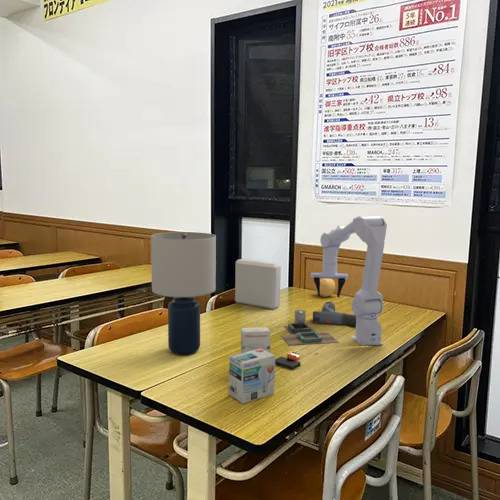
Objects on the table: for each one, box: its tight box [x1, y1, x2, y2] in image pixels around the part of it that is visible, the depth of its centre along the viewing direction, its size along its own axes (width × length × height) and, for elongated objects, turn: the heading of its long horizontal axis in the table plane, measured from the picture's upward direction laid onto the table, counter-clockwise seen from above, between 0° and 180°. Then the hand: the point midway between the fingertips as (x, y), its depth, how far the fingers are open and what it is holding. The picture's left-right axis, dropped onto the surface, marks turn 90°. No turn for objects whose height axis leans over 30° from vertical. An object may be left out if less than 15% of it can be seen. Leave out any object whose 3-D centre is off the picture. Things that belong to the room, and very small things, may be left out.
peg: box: [293, 309, 306, 328], centre depth 176 cm, size 4×4×7 cm
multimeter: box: [275, 351, 320, 371], centre depth 150 cm, size 18×12×3 cm, turn 136°
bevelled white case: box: [234, 258, 282, 310], centre depth 211 cm, size 21×8×20 cm, turn 58°
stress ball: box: [314, 278, 336, 298], centre depth 229 cm, size 10×10×10 cm
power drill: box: [312, 301, 356, 327], centre depth 192 cm, size 5×19×20 cm
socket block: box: [282, 322, 316, 335], centre depth 176 cm, size 10×10×2 cm
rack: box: [280, 331, 340, 347], centre depth 166 cm, size 10×18×2 cm, turn 102°
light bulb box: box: [228, 348, 276, 404], centre depth 123 cm, size 11×7×11 cm, turn 126°
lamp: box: [150, 231, 217, 356], centre depth 152 cm, size 20×20×39 cm
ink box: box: [240, 326, 271, 353], centre depth 142 cm, size 9×5×12 cm, turn 96°
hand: (328, 296), depth 189 cm, fingers open, 7 cm apart
